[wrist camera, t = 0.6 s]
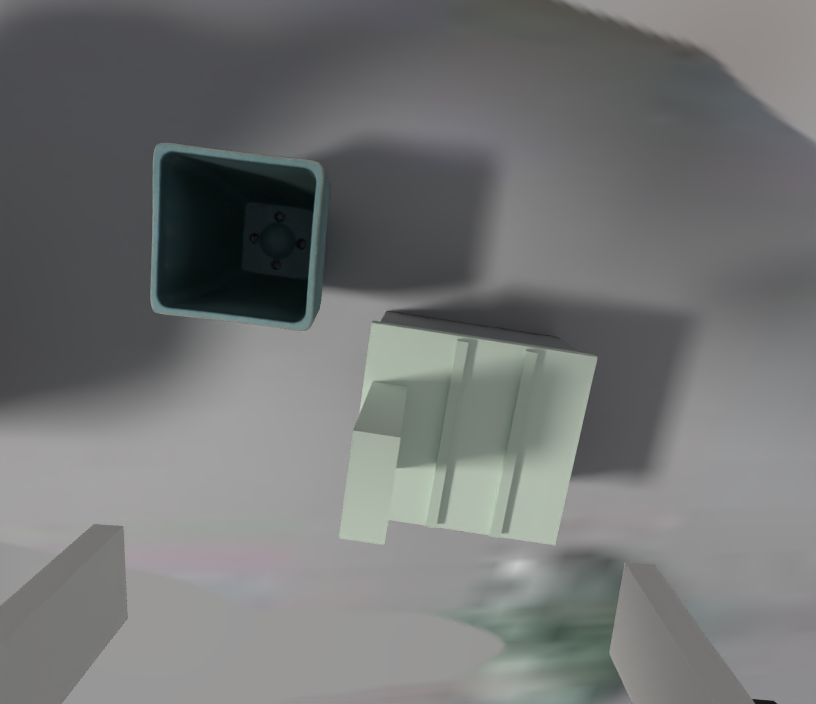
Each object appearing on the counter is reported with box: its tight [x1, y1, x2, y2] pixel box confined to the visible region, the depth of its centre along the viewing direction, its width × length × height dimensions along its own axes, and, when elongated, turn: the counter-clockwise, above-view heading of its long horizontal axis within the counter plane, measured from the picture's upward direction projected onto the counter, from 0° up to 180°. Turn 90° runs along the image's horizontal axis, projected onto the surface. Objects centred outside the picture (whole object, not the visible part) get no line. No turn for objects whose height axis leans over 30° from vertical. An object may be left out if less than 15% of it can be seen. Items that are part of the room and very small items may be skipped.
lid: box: [339, 321, 598, 545], centre depth 27 cm, size 13×12×10 cm
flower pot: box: [150, 142, 330, 331], centre depth 32 cm, size 9×9×9 cm
